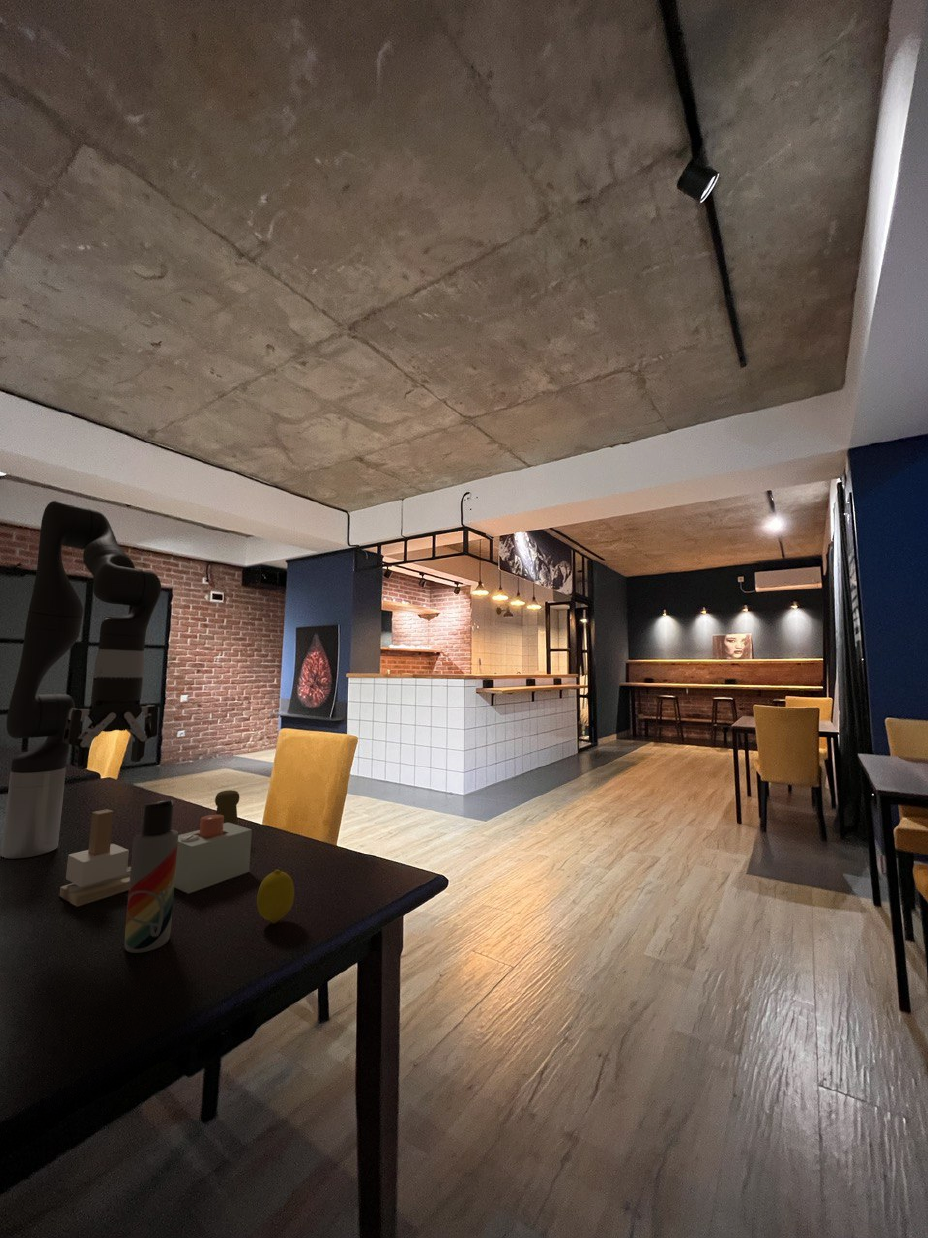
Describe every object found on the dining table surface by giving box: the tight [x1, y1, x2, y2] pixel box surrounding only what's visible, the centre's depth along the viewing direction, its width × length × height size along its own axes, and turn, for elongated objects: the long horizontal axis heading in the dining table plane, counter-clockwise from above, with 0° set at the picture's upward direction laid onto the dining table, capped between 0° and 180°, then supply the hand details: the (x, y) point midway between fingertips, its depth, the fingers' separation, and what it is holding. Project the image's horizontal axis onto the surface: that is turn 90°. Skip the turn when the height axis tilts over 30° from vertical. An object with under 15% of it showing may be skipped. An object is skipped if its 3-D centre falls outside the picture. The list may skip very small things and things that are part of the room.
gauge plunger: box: [199, 814, 224, 839], centre depth 96 cm, size 4×4×6 cm
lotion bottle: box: [123, 799, 179, 954], centre depth 73 cm, size 6×6×20 cm
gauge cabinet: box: [174, 823, 253, 895], centre depth 96 cm, size 8×12×8 cm, turn 148°
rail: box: [58, 866, 131, 907], centre depth 95 cm, size 7×25×4 cm, turn 148°
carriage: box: [65, 808, 130, 887], centre depth 88 cm, size 6×7×11 cm
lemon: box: [256, 869, 295, 924], centre depth 79 cm, size 6×6×8 cm
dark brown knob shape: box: [214, 789, 241, 826], centre depth 116 cm, size 6×6×11 cm
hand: (109, 765), depth 90 cm, fingers open, 8 cm apart
